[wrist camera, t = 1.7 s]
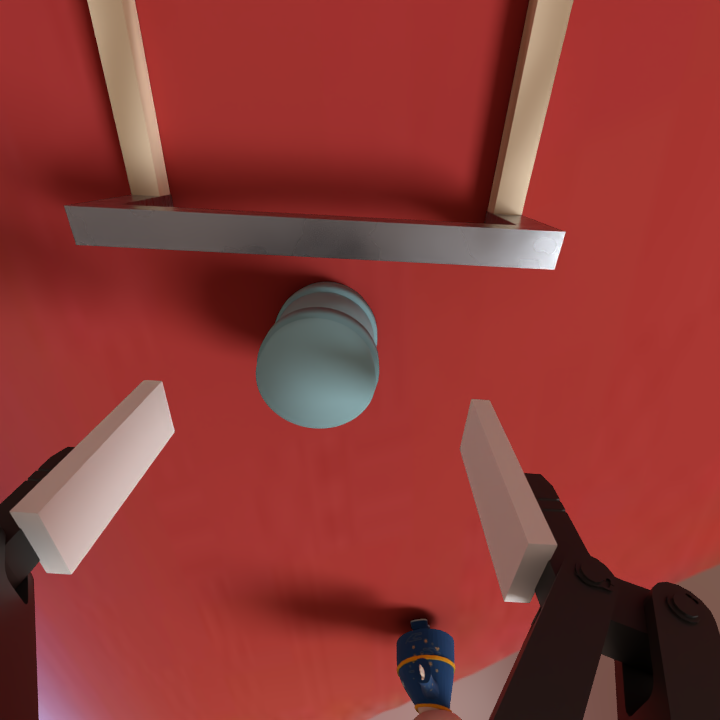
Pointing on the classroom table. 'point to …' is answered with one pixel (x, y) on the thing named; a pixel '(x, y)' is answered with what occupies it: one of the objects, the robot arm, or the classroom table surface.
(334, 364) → the grooved blue cylinder
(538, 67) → the shelf frame
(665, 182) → the classroom table surface
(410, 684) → the figurine
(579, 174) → the classroom table surface
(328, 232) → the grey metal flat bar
